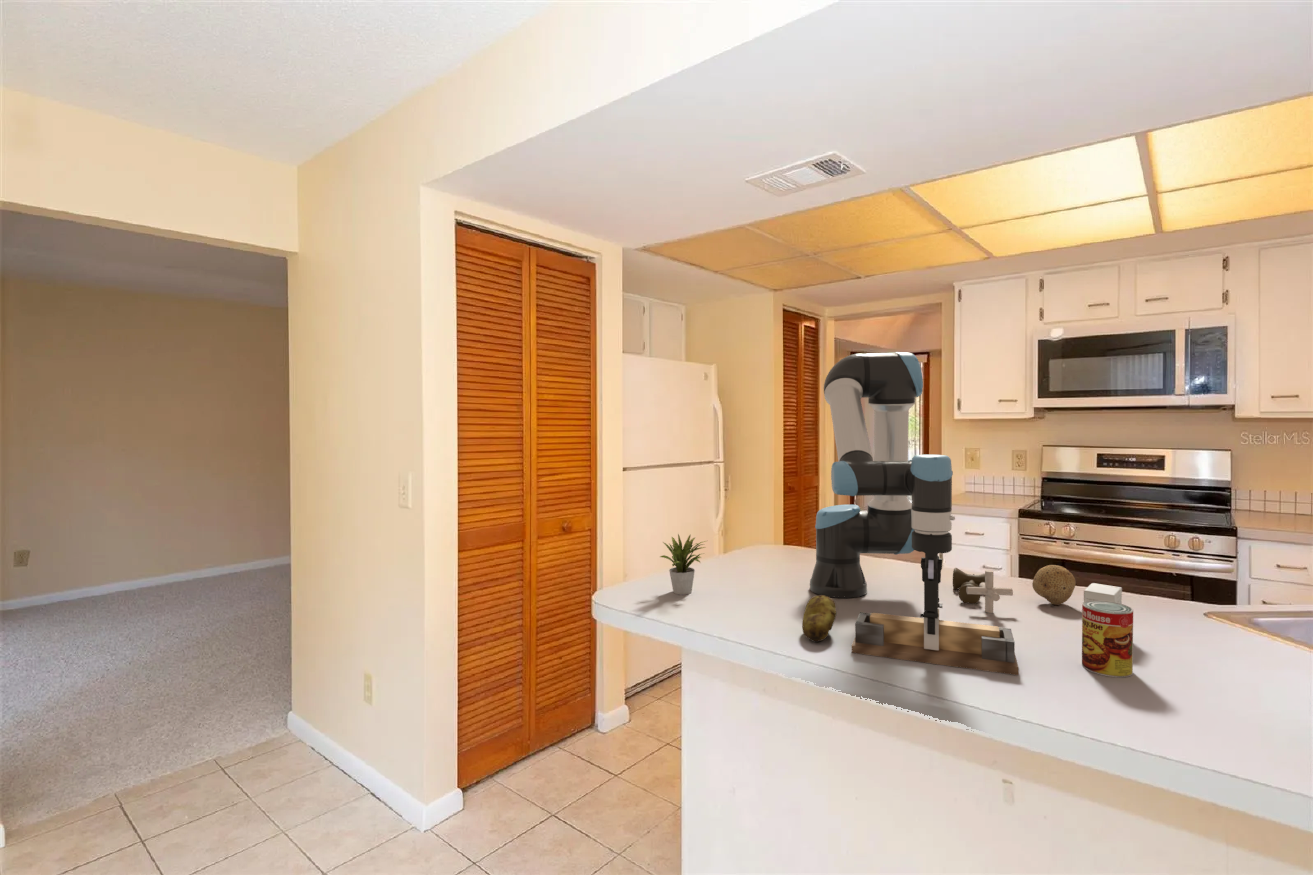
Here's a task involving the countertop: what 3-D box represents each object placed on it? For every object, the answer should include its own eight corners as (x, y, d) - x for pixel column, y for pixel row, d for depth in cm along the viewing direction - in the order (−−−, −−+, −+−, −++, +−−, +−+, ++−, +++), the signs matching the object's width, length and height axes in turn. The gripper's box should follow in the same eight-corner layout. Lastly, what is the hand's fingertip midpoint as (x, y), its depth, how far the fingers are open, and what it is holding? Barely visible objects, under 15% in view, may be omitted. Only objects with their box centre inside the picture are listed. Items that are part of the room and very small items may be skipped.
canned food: (1072, 660, 125) (1073, 600, 125) (1113, 660, 125) (1114, 599, 124) (1099, 677, 117) (1099, 613, 117) (1143, 677, 117) (1143, 612, 116)
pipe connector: (1018, 619, 150) (1018, 577, 149) (972, 617, 152) (972, 575, 151) (1004, 606, 160) (1004, 566, 159) (961, 604, 162) (961, 565, 161)
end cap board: (851, 652, 131) (851, 626, 131) (859, 633, 142) (859, 609, 142) (1018, 675, 119) (1018, 646, 119) (1012, 652, 130) (1013, 626, 130)
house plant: (702, 602, 168) (701, 540, 167) (651, 599, 172) (650, 538, 171) (713, 587, 181) (712, 530, 181) (666, 585, 185) (665, 529, 185)
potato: (787, 639, 140) (787, 603, 140) (814, 623, 150) (813, 589, 149) (823, 647, 135) (822, 610, 134) (848, 630, 144) (848, 596, 144)
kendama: (947, 603, 165) (954, 582, 182) (990, 609, 160) (992, 587, 177) (948, 581, 164) (955, 562, 182) (990, 586, 159) (993, 566, 177)
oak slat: (870, 640, 134) (869, 616, 134) (871, 635, 137) (871, 612, 137) (999, 656, 124) (999, 631, 124) (998, 651, 127) (998, 626, 126)
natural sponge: (1042, 609, 156) (1042, 569, 156) (1025, 599, 165) (1026, 560, 165) (1082, 610, 155) (1082, 569, 155) (1063, 599, 164) (1063, 561, 164)
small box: (1091, 628, 143) (1091, 582, 142) (1121, 634, 139) (1122, 586, 138) (1082, 638, 137) (1082, 589, 137) (1114, 644, 133) (1114, 594, 133)
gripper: (951, 540, 120) (952, 662, 121) (951, 524, 136) (951, 632, 137) (908, 538, 123) (909, 657, 124) (913, 522, 139) (914, 627, 140)
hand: (931, 643), depth 130 cm, fingers open, 5 cm apart
